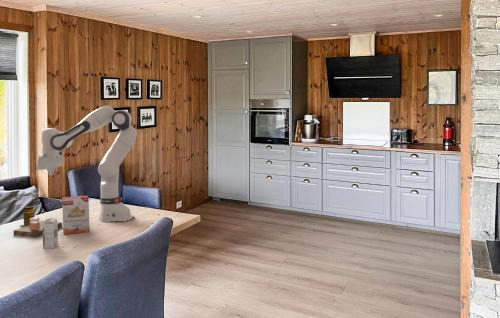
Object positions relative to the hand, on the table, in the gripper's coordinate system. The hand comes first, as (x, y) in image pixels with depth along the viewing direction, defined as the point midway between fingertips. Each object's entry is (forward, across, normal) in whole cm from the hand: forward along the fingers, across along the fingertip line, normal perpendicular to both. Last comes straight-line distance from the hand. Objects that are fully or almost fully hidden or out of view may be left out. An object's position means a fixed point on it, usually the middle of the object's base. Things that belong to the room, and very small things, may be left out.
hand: (51, 175), depth 280 cm
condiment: (+29, -18, +4) cm, 35 cm away
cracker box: (+29, -22, -33) cm, 49 cm away
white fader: (+26, -25, -7) cm, 36 cm away
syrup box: (+29, -49, -37) cm, 68 cm away
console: (+29, -26, -11) cm, 40 cm away
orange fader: (+26, -33, -14) cm, 44 cm away
